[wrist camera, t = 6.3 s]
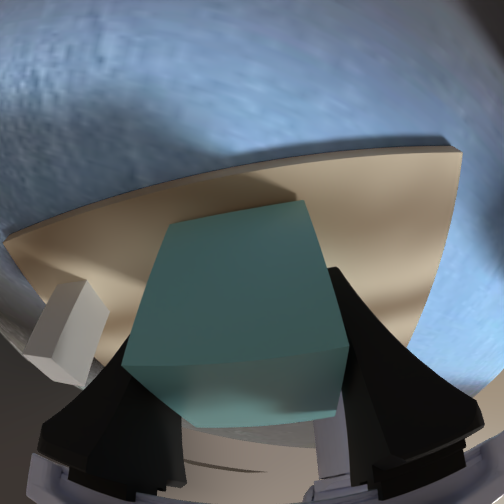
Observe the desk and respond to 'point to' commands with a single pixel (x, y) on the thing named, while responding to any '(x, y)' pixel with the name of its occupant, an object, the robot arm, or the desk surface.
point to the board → (257, 195)
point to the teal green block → (241, 321)
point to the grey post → (68, 333)
